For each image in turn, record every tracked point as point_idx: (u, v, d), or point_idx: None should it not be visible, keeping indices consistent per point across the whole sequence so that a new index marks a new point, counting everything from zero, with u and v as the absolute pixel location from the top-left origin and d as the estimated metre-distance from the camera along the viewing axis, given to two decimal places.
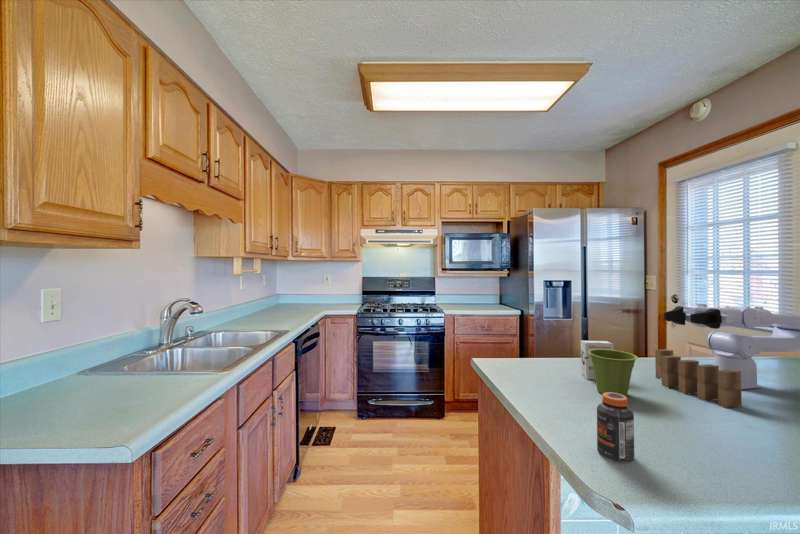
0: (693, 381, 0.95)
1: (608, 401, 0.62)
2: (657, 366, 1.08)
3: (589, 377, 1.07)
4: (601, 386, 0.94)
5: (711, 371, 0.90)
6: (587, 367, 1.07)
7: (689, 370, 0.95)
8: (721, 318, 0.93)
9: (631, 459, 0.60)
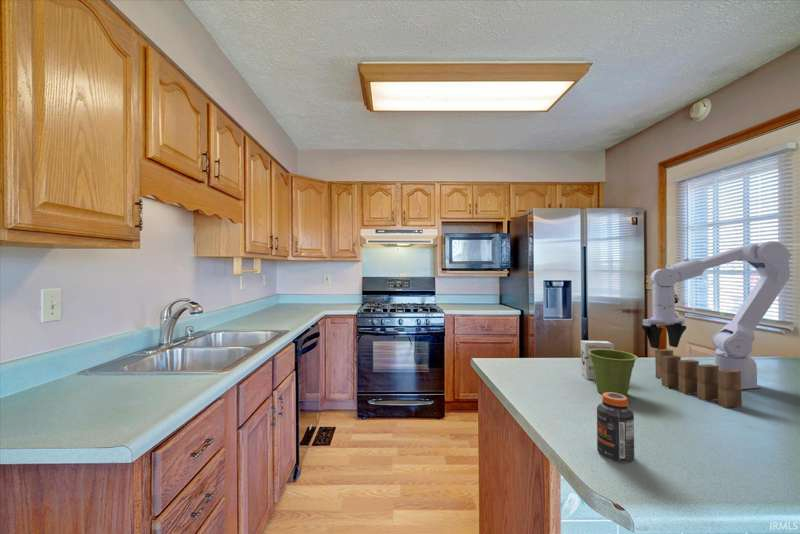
0: (693, 381, 0.95)
1: (608, 401, 0.62)
2: (657, 366, 1.08)
3: (589, 377, 1.07)
4: (601, 386, 0.94)
5: (711, 371, 0.90)
6: (587, 367, 1.07)
7: (689, 370, 0.95)
8: (647, 325, 1.08)
9: (631, 459, 0.60)
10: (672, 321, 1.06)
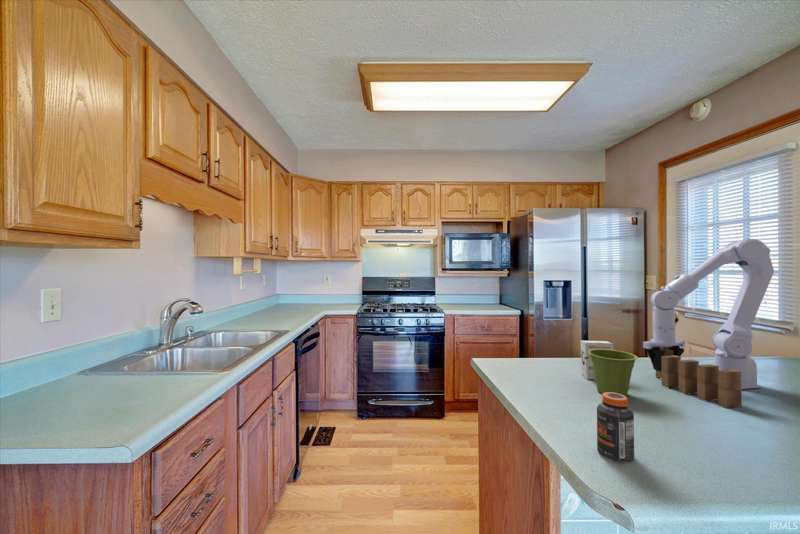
0: (693, 381, 0.95)
1: (608, 401, 0.62)
2: None
3: (589, 377, 1.07)
4: (601, 386, 0.94)
5: (711, 371, 0.90)
6: (587, 367, 1.07)
7: (689, 370, 0.95)
8: (647, 348, 1.08)
9: (631, 459, 0.60)
10: (672, 344, 1.06)
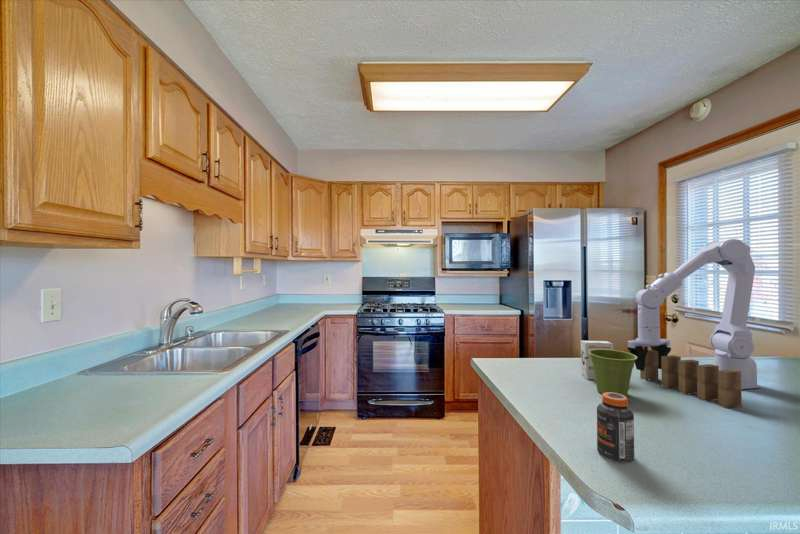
0: (693, 381, 0.95)
1: (608, 401, 0.62)
2: None
3: (589, 377, 1.07)
4: (601, 386, 0.94)
5: (711, 371, 0.90)
6: (587, 367, 1.07)
7: (689, 370, 0.95)
8: (632, 347, 1.06)
9: (631, 459, 0.60)
10: (657, 343, 1.04)
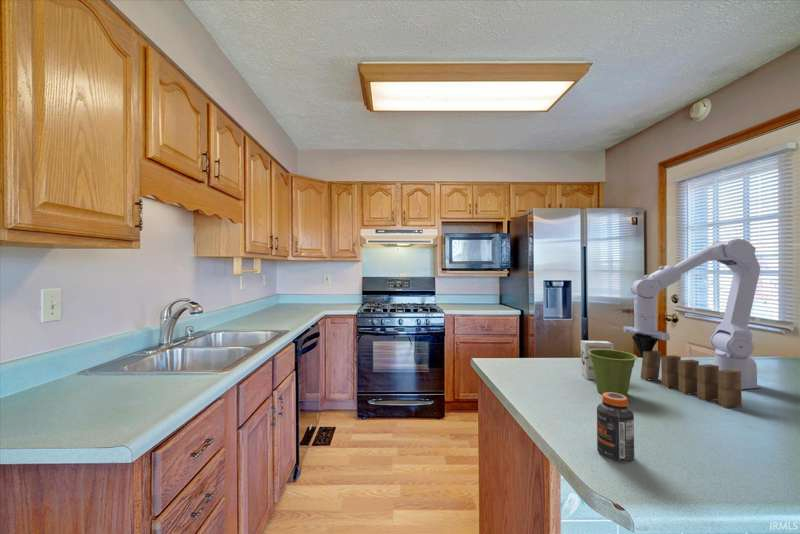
0: (693, 381, 0.95)
1: (608, 401, 0.62)
2: (643, 367, 1.07)
3: (589, 377, 1.07)
4: (601, 386, 0.94)
5: (711, 371, 0.90)
6: (587, 367, 1.07)
7: (689, 370, 0.95)
8: (663, 339, 1.03)
9: (631, 459, 0.60)
10: None
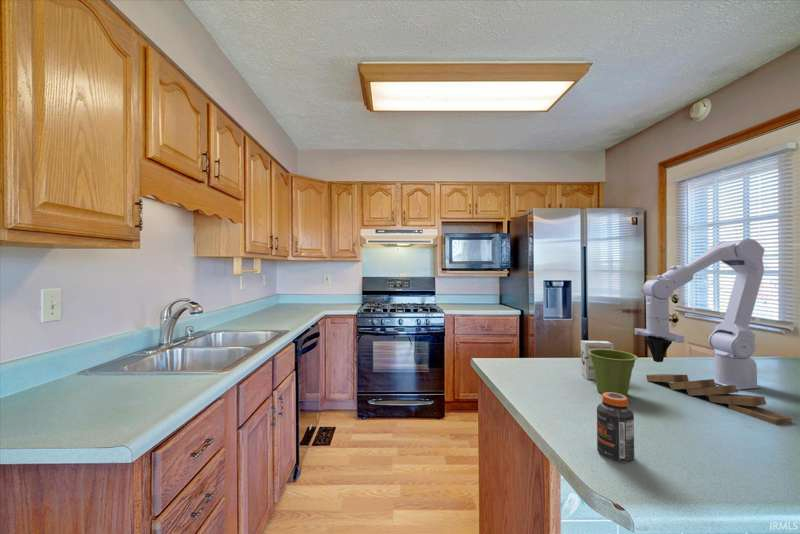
0: None
1: (608, 401, 0.62)
2: (657, 377, 1.02)
3: (589, 377, 1.07)
4: (601, 386, 0.94)
5: None
6: (587, 367, 1.07)
7: None
8: (677, 342, 0.98)
9: (631, 459, 0.60)
10: None
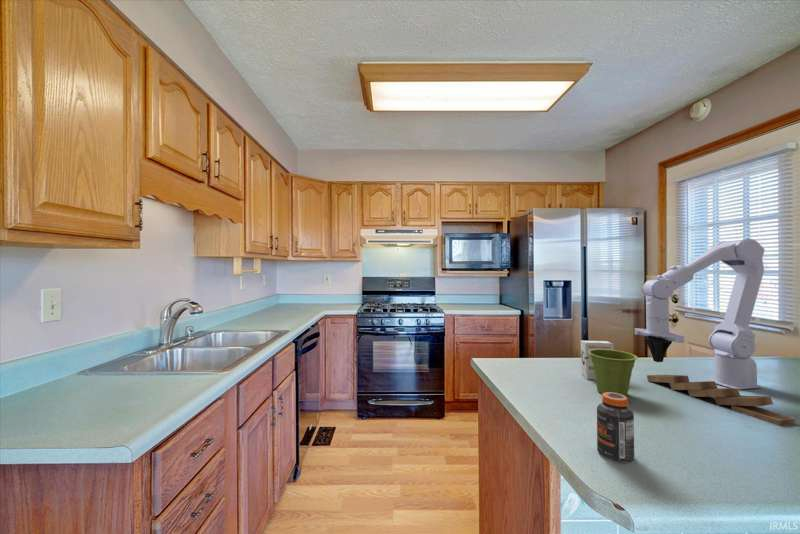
0: None
1: (608, 401, 0.62)
2: (657, 378, 1.02)
3: (589, 377, 1.07)
4: (601, 386, 0.94)
5: None
6: (587, 367, 1.07)
7: None
8: (677, 342, 0.98)
9: (631, 459, 0.60)
10: None
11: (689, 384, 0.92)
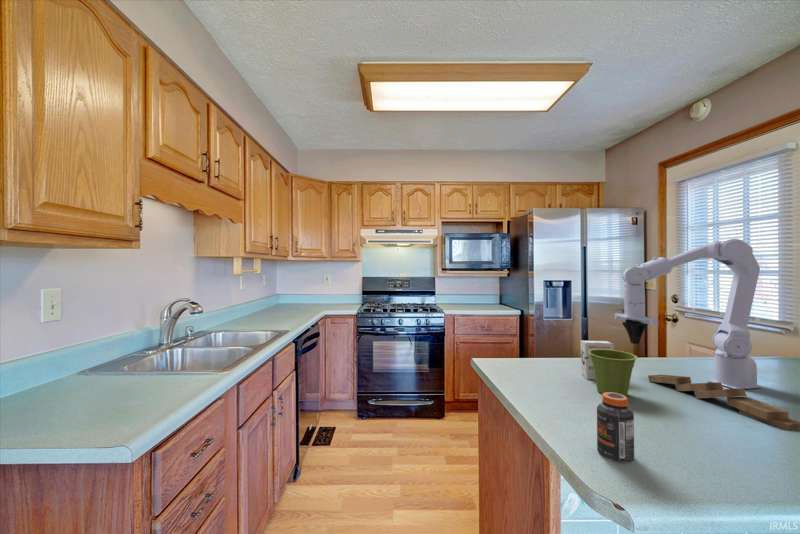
0: None
1: (608, 401, 0.62)
2: (659, 378, 1.02)
3: (589, 377, 1.07)
4: (601, 386, 0.94)
5: None
6: (587, 367, 1.07)
7: None
8: None
9: (631, 459, 0.60)
10: None
11: (694, 385, 0.92)
